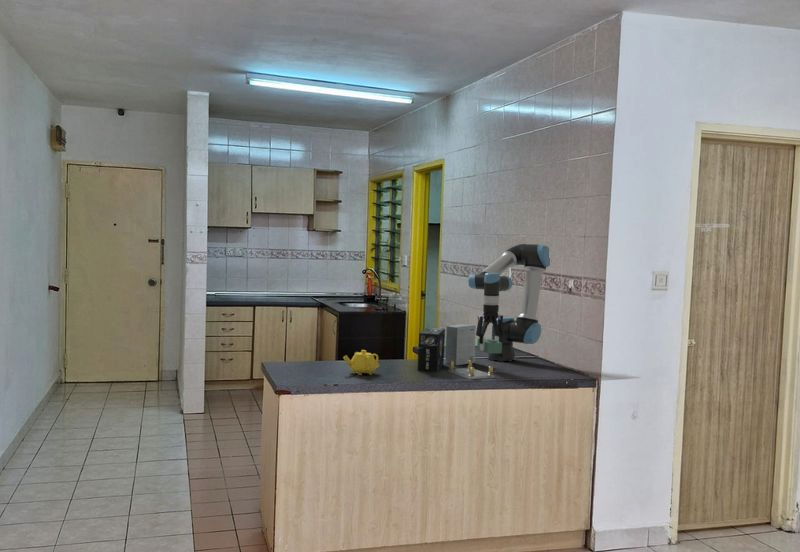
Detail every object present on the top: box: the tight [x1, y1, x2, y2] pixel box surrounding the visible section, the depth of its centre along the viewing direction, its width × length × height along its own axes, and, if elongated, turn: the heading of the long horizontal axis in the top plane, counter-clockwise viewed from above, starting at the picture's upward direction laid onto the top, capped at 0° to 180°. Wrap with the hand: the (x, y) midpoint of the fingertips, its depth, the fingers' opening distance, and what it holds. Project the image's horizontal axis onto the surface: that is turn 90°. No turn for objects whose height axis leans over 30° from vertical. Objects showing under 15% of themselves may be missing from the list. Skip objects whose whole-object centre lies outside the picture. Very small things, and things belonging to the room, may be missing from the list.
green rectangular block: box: [476, 338, 502, 354], centre depth 362 cm, size 7×14×6 cm, turn 17°
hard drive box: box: [444, 323, 477, 366], centre depth 382 cm, size 16×8×20 cm, turn 134°
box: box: [417, 327, 446, 373], centre depth 364 cm, size 23×10×19 cm, turn 168°
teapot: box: [342, 349, 380, 376], centre depth 341 cm, size 14×14×11 cm
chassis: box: [447, 360, 495, 380], centre depth 351 cm, size 13×20×5 cm, turn 27°
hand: (489, 349), depth 362 cm, fingers closed on green rectangular block, 8 cm apart
